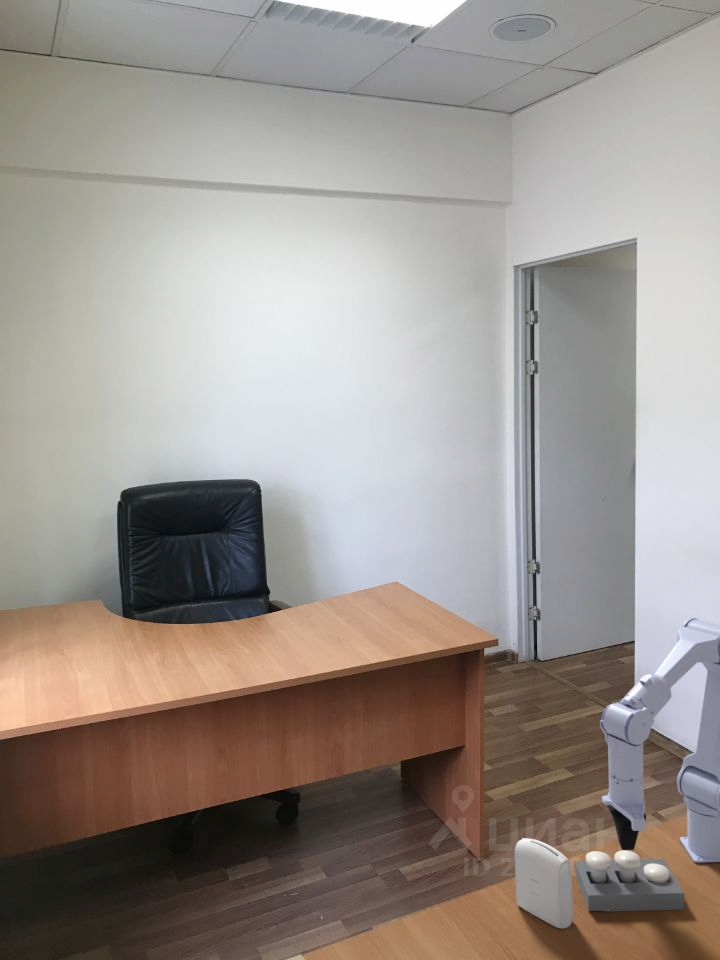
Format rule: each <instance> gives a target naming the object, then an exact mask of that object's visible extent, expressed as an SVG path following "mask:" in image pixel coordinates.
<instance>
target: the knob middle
mask: <svg viewBox="0 0 720 960" xmlns="http://www.w3.org/2000/svg"><path fill="white" fill-rule="evenodd" d="M614 860H615V864H616V865H617V866H619V867H620V879H621V880H622V881H624V882H627V883H631V882H634V881H635V869H637V868H638V867H639V866H640V860H641V858H640V856H639V854H638V853H636V852H634V851H632V850H618V851H617V852H615V854H614Z"/></svg>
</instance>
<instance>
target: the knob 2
mask: <svg viewBox="0 0 720 960" xmlns="http://www.w3.org/2000/svg"><path fill="white" fill-rule="evenodd" d="M644 877H645V878H646V879H647V880H649V882H655V883H664V882H667V881H668V880H669V870H668V869H667V868H666V867H665V866H663V865H660V864H655V863H652V864H647V865H645V866H644Z"/></svg>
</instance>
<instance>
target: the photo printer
mask: <svg viewBox="0 0 720 960" xmlns="http://www.w3.org/2000/svg"><path fill="white" fill-rule="evenodd" d="M514 848H515V849H514V870H515V871H514V873H515V875H514V876H515V877H514V878H515V897H516V904H517V906H518V907H520V908H521V909H523V910H525V911H526V912H528V913H530V914H531V915H533V916H535V917H537V918H539V920H540V919H541V920H542V921H544V922H546V923H547V924H549V925H551V926H553V927H555V928H558V929H561V930H563V929H567V928H569V927H570V926H571V925H572V921H573V918H574V907H573V906H574V904H573V885H572V883H573V882H572V881H573V880H572V864H571V862H570V860H569V859H568V858H567V856H565V854H563V853H562V852H560V851H559V850H557V849H556V848H554V847H553V846H551V845H549V844H548V843H545V842H543V841H540V840H538V839H534V838H529V837H524V838H521V839H520V840H518V841H517V843H516V844H515V847H514Z"/></svg>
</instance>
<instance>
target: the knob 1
mask: <svg viewBox="0 0 720 960" xmlns="http://www.w3.org/2000/svg"><path fill="white" fill-rule="evenodd" d="M611 860H612V858H611V856H610V855H609V854H607V853H605V852H603V851H597V850H594V851H590V852H588V853H586V855H585V861H586V864H587V866H588V867H590V868H591V880H592V881H593V882H595V883H605V882H606V870H607V869H609V868H610V867H611Z"/></svg>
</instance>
